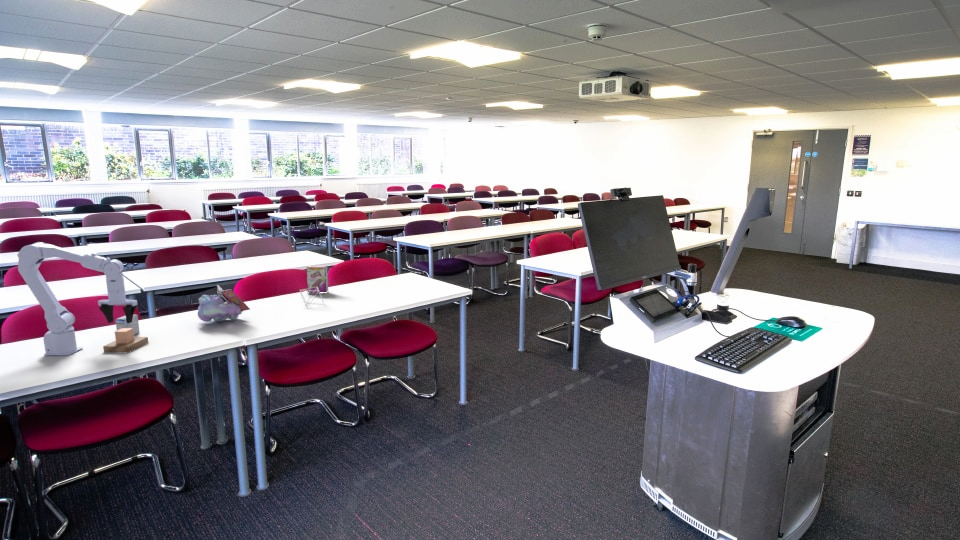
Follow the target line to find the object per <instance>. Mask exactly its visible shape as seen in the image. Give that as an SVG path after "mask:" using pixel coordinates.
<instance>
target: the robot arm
mask: <svg viewBox="0 0 960 540" xmlns="http://www.w3.org/2000/svg"><path fill="white" fill-rule="evenodd" d="M17 258H18V261H17V271H18V273H19V274H20V277H22V278H23V280H24V282H25V283H26V285H27V286H28V288H29V289H30V291H31V293H32V295H34V297H35V299H36V301H37V302H38V303H39V305H40V306H41V308H42V309H43V311H44V319H45V321H46V327H47V329H48V331H47V332H46V333H45V334H44V335H43V345H44V351H45V352H44V354H43V355H44V356H69V355H72V354H74V353H76V352H79V351H81V350H83V347H81V346H80V347H78V346H77V339H76V333H75V327H74V326H73V324H74V323H75V321H76V317H75V315H74V314H73V313H72V312H70V311H69V310H68V309H67V307H65V306H63V305H62V304H61V303H60V302H59V300H58V299H57V297H56V295H55V294H54V293H53V291H52V290H51V287H50V286H49V284H48V283H47V281H46V280H45V279H44V277H43V275H42V274H41V272H40V270H39V268H40V266H41V264H42V262H43V261H44V260H45V259H51V258H58V259H62V260H66V261H70V262H75V263H79V264H80V265H81V266H82V267H83V268H86V269H89V270H93V271H97V272H101V273H103V274H104V275H105V282H106V291H107V297H108V299H100V300H97V305H98V306H99V308H98V309H99V310H100V311H101V312H102V314H103V315H104V317H105V319H106V321H107V324H111V323H114V306H123V307H122V310H123V312H124V314H125V315H126V321H127V323H131V322H132V319H133V314H134V313H135V311H136V308H137V307H138V300H137V299H129V298H126V297H127V295H126V288H125V279H124V274H123V270H124V263H123V262H122V261H121V260H119V259H117V258H113V259H111V258H110V257H103V256H99V255H97V253H95V252H92V253H90V252H89V253H85V254H83V253H79V252H75V251H72V250H70V249H67V248H64V247H61V246H57V245H54V244H50V243H46V242H43V241H41V242H40V241H37V242H34V243H32V244H28V245H24V246H23V247H21V249H20V250H19V251H18V252H17ZM125 315H124V316H125ZM78 350H79V351H78Z"/></svg>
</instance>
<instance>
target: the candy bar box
mask: <svg viewBox="0 0 960 540" xmlns="http://www.w3.org/2000/svg"><path fill="white" fill-rule="evenodd" d="M328 275H329V274H328V266H327V265H308V266H306V283H307V284H306V285H307V286H306V287H307V288H310V289H307V290H311V291H307V293H308V292H309V293H313V292H314V293H317V292H318V291H320V292H327V291H328V292H329V278H328V277H329V276H328ZM313 287H315V288H313ZM317 287H318V289H319V290H318V289H317ZM315 289H316V290H315ZM318 293H319V292H318Z"/></svg>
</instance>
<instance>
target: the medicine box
mask: <svg viewBox="0 0 960 540" xmlns="http://www.w3.org/2000/svg"><path fill="white" fill-rule="evenodd" d="M114 320H115V321H114V322H115V328H116V331H117V330H119V329H121V328H133V330H134V336H135V335H137V333H138V334H139V333H140V326H139V325H140V324H139V316H138V314H133V319H132V322H131V323H127V321H126V315H123V316H121V317H118V318H116V319H114Z"/></svg>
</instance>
